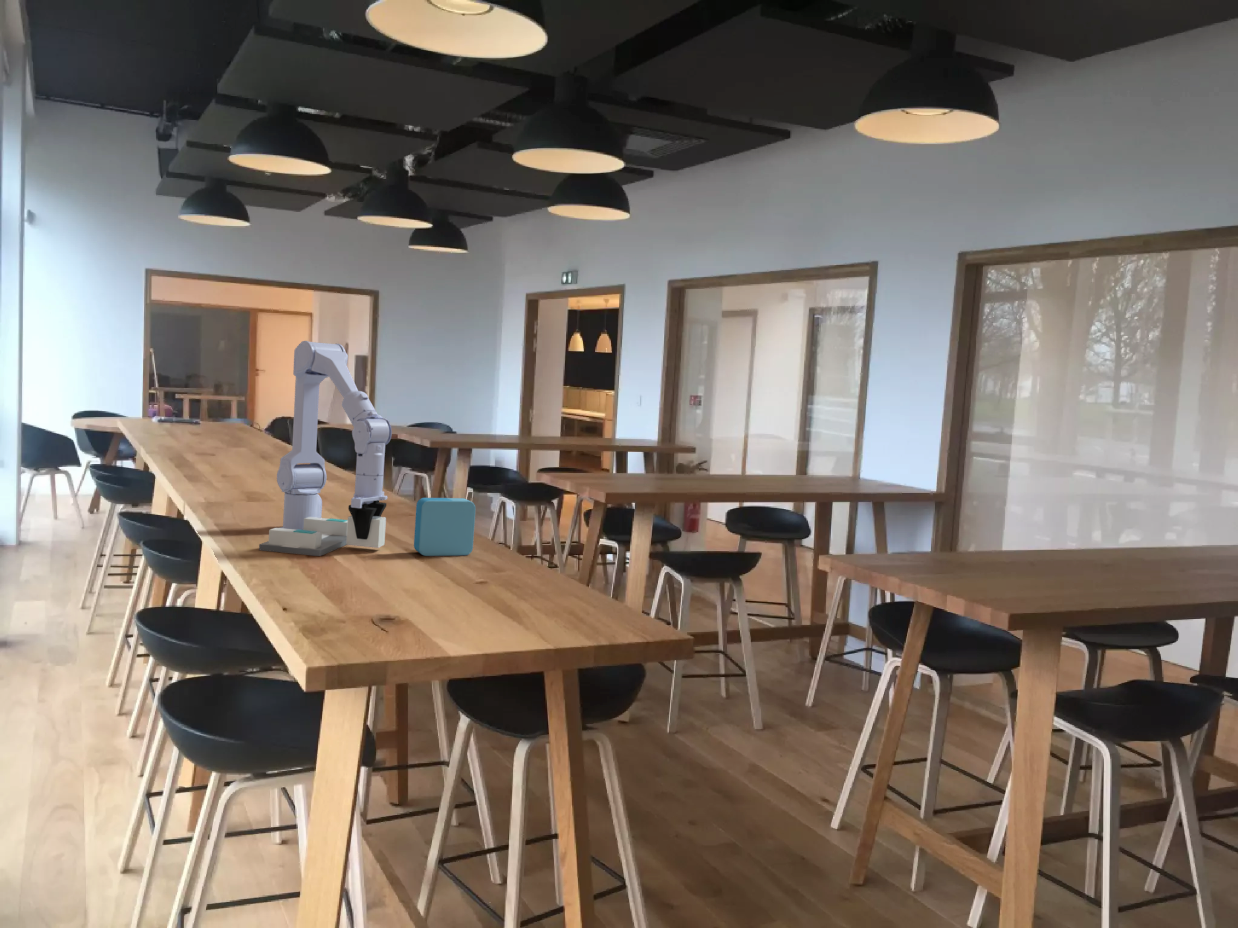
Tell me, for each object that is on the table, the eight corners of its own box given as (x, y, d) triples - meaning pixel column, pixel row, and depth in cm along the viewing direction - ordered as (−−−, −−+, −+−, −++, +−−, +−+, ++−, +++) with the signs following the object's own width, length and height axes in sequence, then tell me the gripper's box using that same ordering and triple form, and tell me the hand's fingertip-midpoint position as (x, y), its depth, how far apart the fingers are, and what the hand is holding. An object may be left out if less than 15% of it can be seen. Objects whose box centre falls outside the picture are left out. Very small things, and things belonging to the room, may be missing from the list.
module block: (353, 541, 209) (354, 513, 209) (384, 544, 209) (386, 516, 208) (346, 544, 205) (347, 516, 205) (378, 547, 205) (379, 519, 204)
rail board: (304, 533, 219) (305, 514, 219) (359, 539, 218) (360, 520, 218) (259, 549, 198) (260, 529, 197) (320, 556, 196) (321, 535, 196)
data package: (466, 551, 214) (469, 498, 213) (472, 555, 210) (476, 501, 209) (413, 552, 209) (416, 497, 208) (418, 556, 205) (422, 500, 204)
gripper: (376, 479, 198) (372, 544, 199) (398, 473, 212) (395, 533, 214) (342, 476, 199) (339, 541, 200) (367, 470, 213) (364, 530, 214)
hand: (365, 537), depth 207 cm, fingers closed on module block, 4 cm apart
